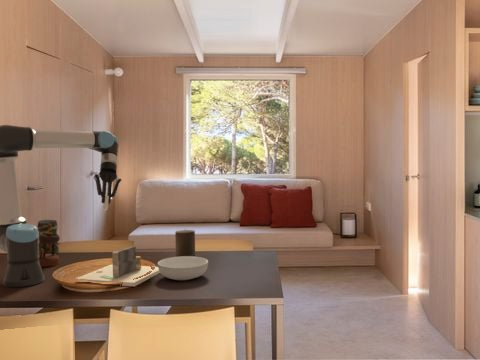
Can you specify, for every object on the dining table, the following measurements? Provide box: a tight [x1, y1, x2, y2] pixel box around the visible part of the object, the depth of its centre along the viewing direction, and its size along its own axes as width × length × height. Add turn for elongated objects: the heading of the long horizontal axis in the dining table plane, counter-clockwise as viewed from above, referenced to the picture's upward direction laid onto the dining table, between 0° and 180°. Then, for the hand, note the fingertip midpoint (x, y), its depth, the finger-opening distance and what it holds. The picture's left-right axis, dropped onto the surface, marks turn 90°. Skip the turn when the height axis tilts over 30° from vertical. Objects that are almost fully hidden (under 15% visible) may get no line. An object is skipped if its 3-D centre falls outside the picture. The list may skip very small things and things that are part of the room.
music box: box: [37, 223, 61, 268], centre depth 219 cm, size 15×11×20 cm
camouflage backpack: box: [37, 219, 59, 255], centre depth 243 cm, size 10×8×19 cm
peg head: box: [111, 246, 142, 278], centre depth 192 cm, size 17×4×10 cm, turn 159°
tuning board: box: [75, 263, 161, 287], centre depth 193 cm, size 26×27×2 cm
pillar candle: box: [175, 229, 196, 257], centre depth 226 cm, size 10×10×15 cm
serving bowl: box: [157, 256, 209, 281], centre depth 189 cm, size 21×21×7 cm
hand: (105, 209), depth 209 cm, fingers closed
